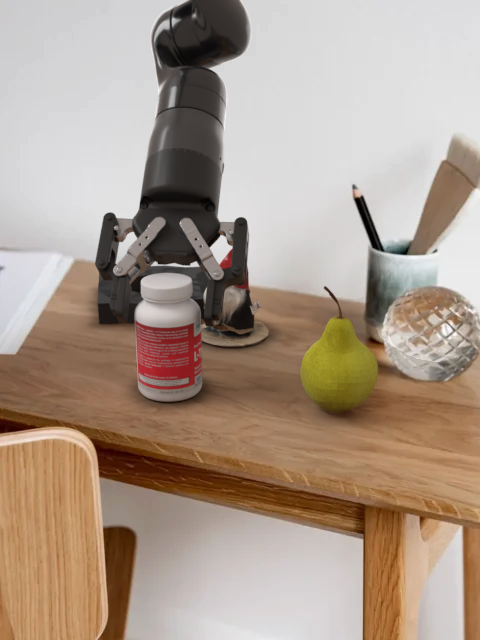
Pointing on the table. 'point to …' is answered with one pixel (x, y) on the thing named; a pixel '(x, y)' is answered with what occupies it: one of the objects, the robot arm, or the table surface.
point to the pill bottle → (168, 338)
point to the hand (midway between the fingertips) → (164, 321)
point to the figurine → (235, 316)
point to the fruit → (338, 367)
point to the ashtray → (106, 287)
